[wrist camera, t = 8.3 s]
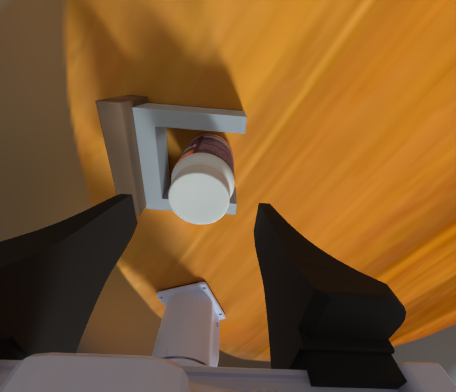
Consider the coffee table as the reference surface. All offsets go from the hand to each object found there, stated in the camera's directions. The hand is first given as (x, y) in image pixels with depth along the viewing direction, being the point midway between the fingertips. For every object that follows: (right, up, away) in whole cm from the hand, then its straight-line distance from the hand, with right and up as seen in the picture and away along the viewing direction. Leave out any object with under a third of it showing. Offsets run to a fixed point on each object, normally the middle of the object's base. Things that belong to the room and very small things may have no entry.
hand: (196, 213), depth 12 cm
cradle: (-1, +5, +9) cm, 10 cm away
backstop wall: (-6, +6, +8) cm, 12 cm away
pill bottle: (0, +5, +9) cm, 10 cm away
